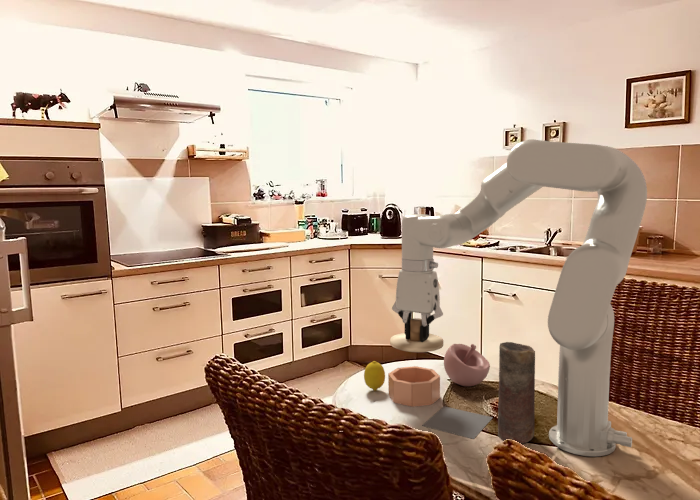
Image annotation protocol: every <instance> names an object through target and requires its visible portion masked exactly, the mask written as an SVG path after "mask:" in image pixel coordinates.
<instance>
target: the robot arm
mask: <svg viewBox="0 0 700 500" xmlns="http://www.w3.org/2000/svg"><path fill="white" fill-rule="evenodd" d="M543 187H544V188H545V187H546V188H552V189H562V190H569V191H576V192H583V193H584V192H585V193H586V192H587V193H589V192H590V193H593V192H597V202H596V205H595V207H594V210H593V213H592V215H591V218H590V222H589V226H588V228H587V232H586V235H585V238H584V240H583V242H582V244H581V245H580V246H579V247H576V248H575V249H574V250H573V251H572V252H570V253H569V255H568V256H567V258H566V259H565V262H564V263H563V265H562V268H561V271H560V275H559V278H558V281H557V285H556V288H555V291H554V295H553V297H552V302H551V305H550V308H549V311H548V316H547V329H548V331H549V334H550V336H551V339H553V340H554V342H555V343H557V345H559V352H558V353H559V354H558V377H557V380H558V381H557V383H558V384H557V414H556V416H557V418H556V425H554V426H552V427H551V428H550V429H549V431H548V438H549V440H550V441H551V442H552V443H553V445H555V446H556V447H557V448H558V449H560V450H561V451H565V452H567V453H570V454H573V455H578V456H582V457H583V456H584V457H601V456H602V457H603V456H608V455H610V454H612V453H613V452H614V451H615V450H616V445H619V446H622V447H623V446H624V447H627V448H632V446H633V437H632V436H628V434H627V433H628V432H626V431H622V430H617V429H615V428H614V427H612V421H611V420H609V399H610V398H609V397H610V394H609V393H610V376H611V361H612V360H611V359H612V358H611V357H612V346H613V337H614V336H613V335H614V328H615V312H614V309H613V305H612V304H611V302H612V300H613V296H614V294H615V290H616V288H617V286H618V285H619V284H620V283H621V282H622V281H623V280H624V278H625V276H626V274H627V272H628V267H629V263H630V260H631V256H632V253H633V250H634V247H635V244H636V241H637V238H638V234H639V231H640V226H641V223H642V220H643V218H644V217H643V216H644V214H645V210H646V205H647V202H648V201H647V200H648V187H647V182H646V179H645V176H644V173H643V171H642V170H641V167H639V165H638V164H637V163H636V162H635V161H634V160H633V159H632V158H631V157H629V155H627V154H626V153H624V152H623V151H622V150H620V149H618V148H615V147H612V146H608V145H602V144H593V143H578V142H577V143H576V142H575V143H574V142H561V141H549V140H542V139H541V140H540V139H525V140H522V141H520V142H519V143H517V144H516V145H515V146H513V148H511V150H510V152H509V153H508V155H507V158H506V163H504V164H503V165H502V166H501V167H499V168H497V169H496V170H495V171H494V172H492V173H491V174H490V175H488V176H487V177H485V178H484V179H483V181H482V182H481V184H480V191H479V193H478V194H477V196H475V198H473V199H472V200H471V201H470V202H468V203H467V204H466V205H464V207H462V208H461V209H459V210H458V211H456V212H455V213H447V214H442V215H434V216H431V215H429V214H422V213H421V214H420V213H416V214H414V213H412V214H406V215H404V216H403V217H402V219H401V220H402V221H401V269H400V270H399V271H398V277H397V281H396V290H395V302H394V303H393V305H392V308H391V310H392V311H393V312H395V313H396V314H398V316H399V317H400V319H401V320H402V324H404V333H405V335H406V339H410V319H413V313H417V314H420V317H421V318H420V319H422V325H421V326H420V341H421V342H424V341H425V340H427V339H428V337H429V334H430V324H431V323H432V322H433V321H435V320H436V319H438V318H441V317H443V316H444V312H443V311H442V309H441V307H440V305H441V303H440V302H441V301H440V300H441V297H440V296H441V295H440V286H439V285H440V284H439V279H438V274H437V271H436V270H434V269H438V267H439V262H437V261H435V259H434V248H436V249H446V248H451V247H455V246H459V245H463V244H465V243H467V242H469V241H471V240H472V239H473V238H475V237H477V236H478V235H480V234H481V233H483V232H484V231H486V230H487V229H489V228H490V227H491V226H492V225H494V224H495V223H496V222H497V221H499V220H500V219H501V218H502V217H504V215H505V214H506V213H507V212H509V211H510V210H512V209H513V208H514V207H515V206H517V205H518V204H520V203H521V202H523V201H524V200H526V199H527V198H529V197H530V196H532V195H533V194H534V193H536V192H537V191H539V190H541V189H543ZM433 312H434V313H433ZM432 313H433V314H432Z"/></svg>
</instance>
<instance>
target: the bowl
mask: <svg viewBox="0 0 700 500" xmlns="http://www.w3.org/2000/svg"><path fill="white" fill-rule="evenodd" d="M387 379H388V396H389V397H390V399H391V400H392V402H393V403H395V404H398V405H403V406H408V407H413V408H414V407H422V406H430V405H433V404H434V403H436V401H438V400H439V399H440V398H441V376H440V375H439V373H438V372H437V371H436V370H434V369H433V368H427V367H424V366H423V367H422V366H418V365H417V366H416V365H413V366H412V365H411V366H405V367H397V368H395V369H394V370H392V371H391V372H388V377H387Z"/></svg>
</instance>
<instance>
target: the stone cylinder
mask: <svg viewBox="0 0 700 500" xmlns="http://www.w3.org/2000/svg"><path fill="white" fill-rule="evenodd" d="M498 354H499V355H498V357H499V360H498V363H499V364H498V365H499V367H498V369H499V370H498V400H497V401H498V402H497V404H498V408H497V409H498V411H497V437H498V438H499V439H500V440H502V441H504V440H506V439H512V440H515V441H517V442H520V443H519V444H525V443H528V442H529V441H532V440H533V438H534V436H535V411H536V409H535V405H536V404H535V402H536V401H535V398H536V397H535V394H536V392H535V387H536V386H535V385H536V381H535V380H536V379H535V378H536V351H535V350H534V348H533V347H532V346H531V345H527V344H522V343H517V342H513V341H512V342H511V341H506V342H501V343H500V344H499V353H498ZM504 442H505V441H504Z"/></svg>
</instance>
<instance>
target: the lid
mask: <svg viewBox="0 0 700 500" xmlns="http://www.w3.org/2000/svg"><path fill="white" fill-rule="evenodd" d="M421 325H422V318H418V317H417V318H416V317H412V319H410V339H406V335H405V332H401V333H397V334H394V335H392V336H391V337H390V339H389V343H390V346H391V347H393V348H395V350H396V349H397V350H399V351H403V352H409V353H429V352H435V351H437V350H441V349H442V348H443V347H444V339H443V338H442V337H441V336H439V335H437V334H434V333H429V337H428V339H427V340H425V341H424V342H421V341H420V326H421Z"/></svg>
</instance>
